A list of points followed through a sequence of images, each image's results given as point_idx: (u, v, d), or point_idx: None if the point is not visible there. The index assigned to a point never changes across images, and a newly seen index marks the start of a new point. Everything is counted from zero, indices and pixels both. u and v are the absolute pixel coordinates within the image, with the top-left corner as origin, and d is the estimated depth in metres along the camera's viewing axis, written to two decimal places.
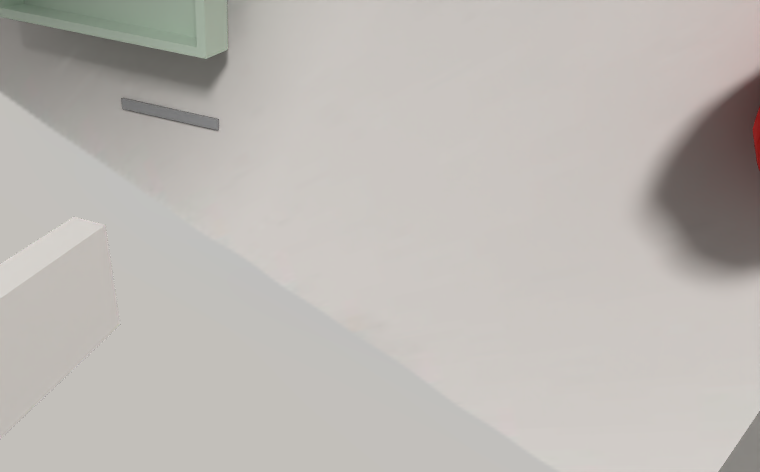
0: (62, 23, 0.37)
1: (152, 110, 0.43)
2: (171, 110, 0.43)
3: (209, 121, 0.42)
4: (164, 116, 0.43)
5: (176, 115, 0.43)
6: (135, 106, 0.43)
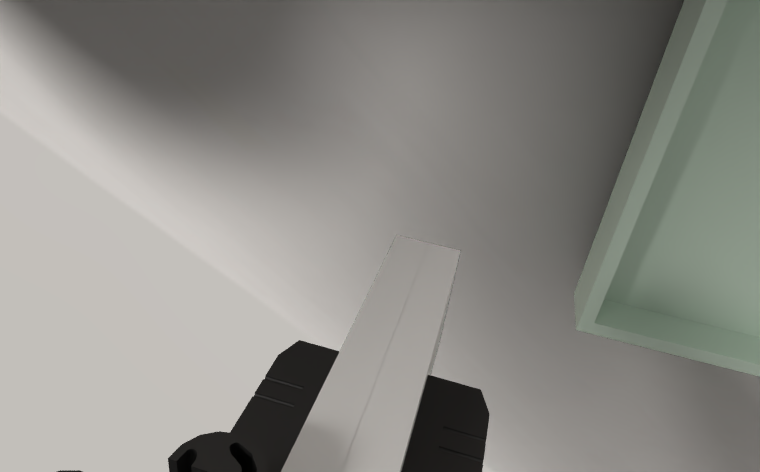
0: None
1: None
2: None
3: None
4: None
5: None
6: None
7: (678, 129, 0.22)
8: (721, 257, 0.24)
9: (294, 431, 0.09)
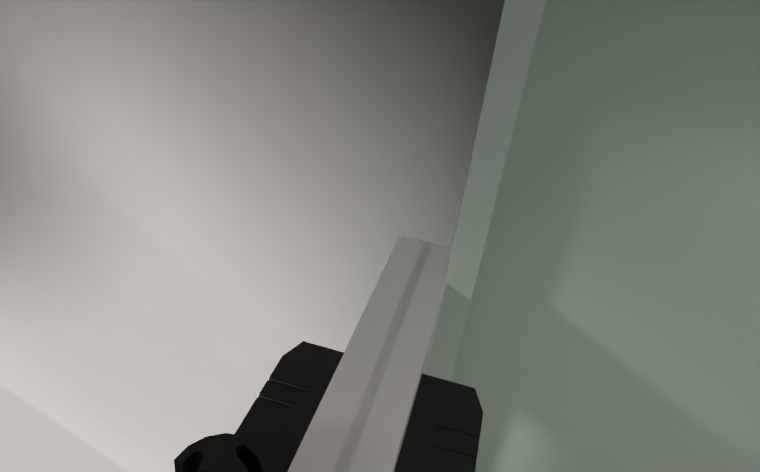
0: None
1: None
2: None
3: None
4: None
5: None
6: None
7: (515, 243, 0.13)
8: (608, 433, 0.15)
9: (298, 432, 0.09)
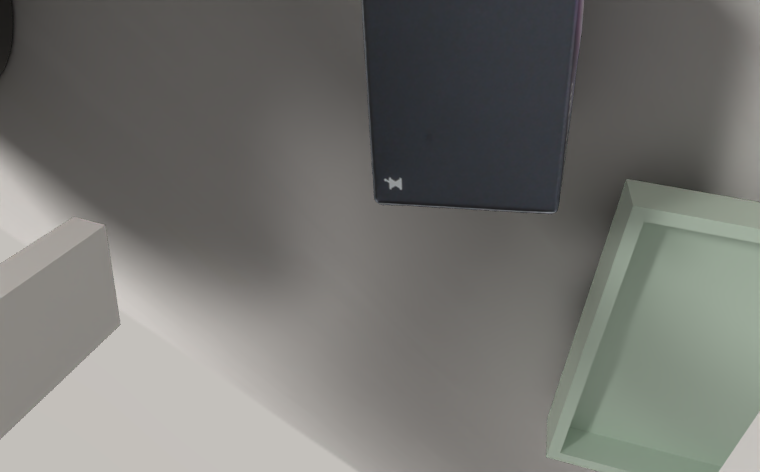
0: None
1: None
2: None
3: None
4: None
5: None
6: None
7: (615, 310, 0.28)
8: (660, 401, 0.30)
9: None
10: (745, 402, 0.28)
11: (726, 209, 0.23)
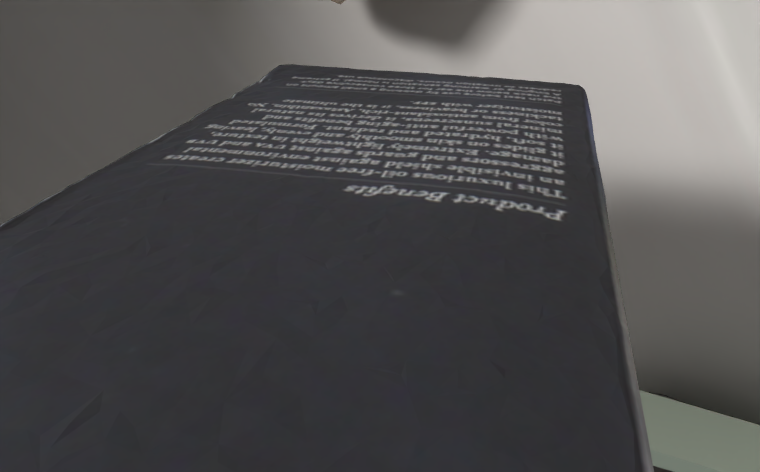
0: None
1: None
2: None
3: None
4: None
5: None
6: None
7: None
8: None
9: None
10: None
11: (752, 451, 0.19)
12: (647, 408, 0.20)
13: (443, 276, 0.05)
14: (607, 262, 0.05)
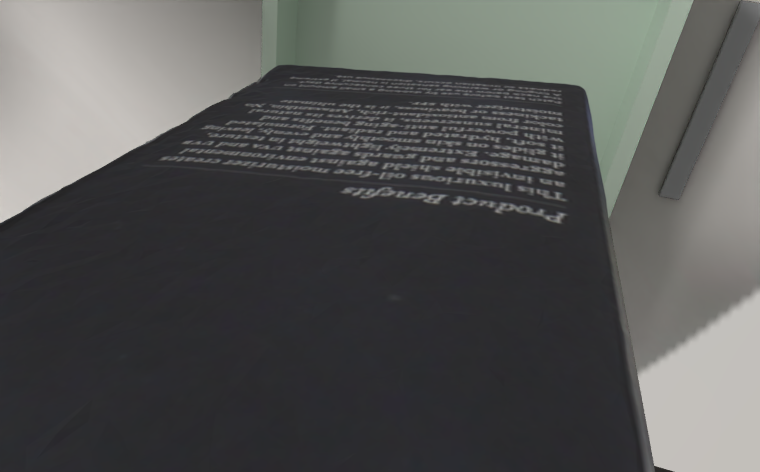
0: None
1: (693, 141, 0.23)
2: (701, 101, 0.23)
3: (742, 19, 0.21)
4: (710, 120, 0.23)
5: (713, 93, 0.22)
6: (678, 174, 0.24)
7: None
8: None
9: None
10: None
11: None
12: None
13: (441, 281, 0.04)
14: (608, 266, 0.05)
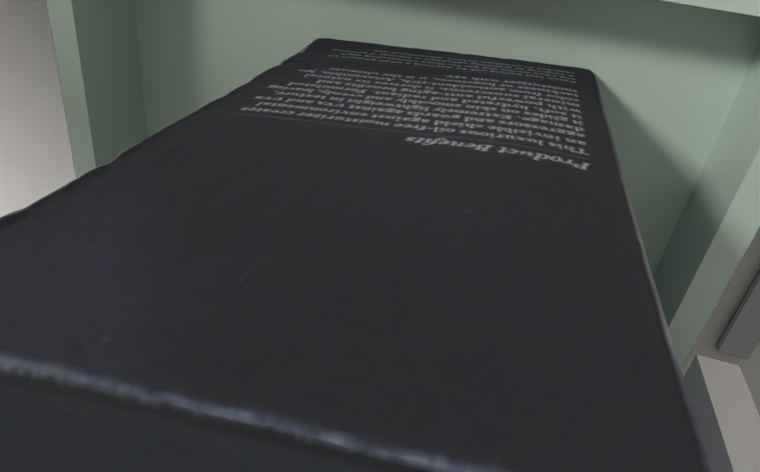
0: None
1: None
2: None
3: None
4: None
5: None
6: (749, 324, 0.15)
7: None
8: None
9: None
10: None
11: None
12: None
13: (500, 202, 0.06)
14: (625, 200, 0.06)
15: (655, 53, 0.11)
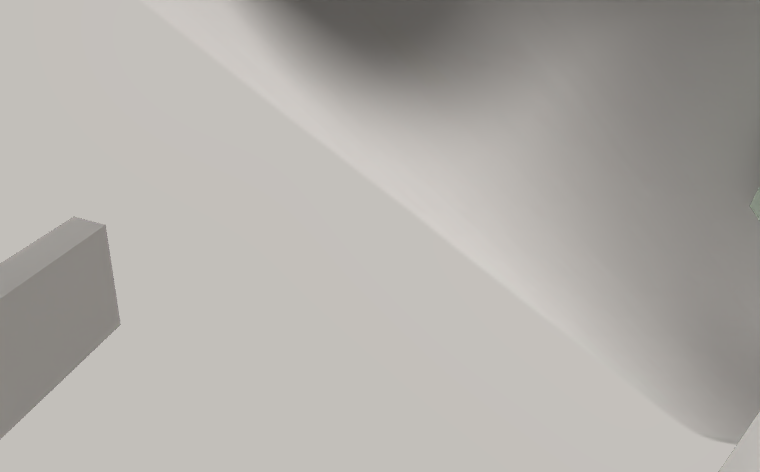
0: None
1: None
2: None
3: None
4: None
5: None
6: None
7: None
8: None
9: None
10: None
11: None
12: None
13: None
14: None
15: None
